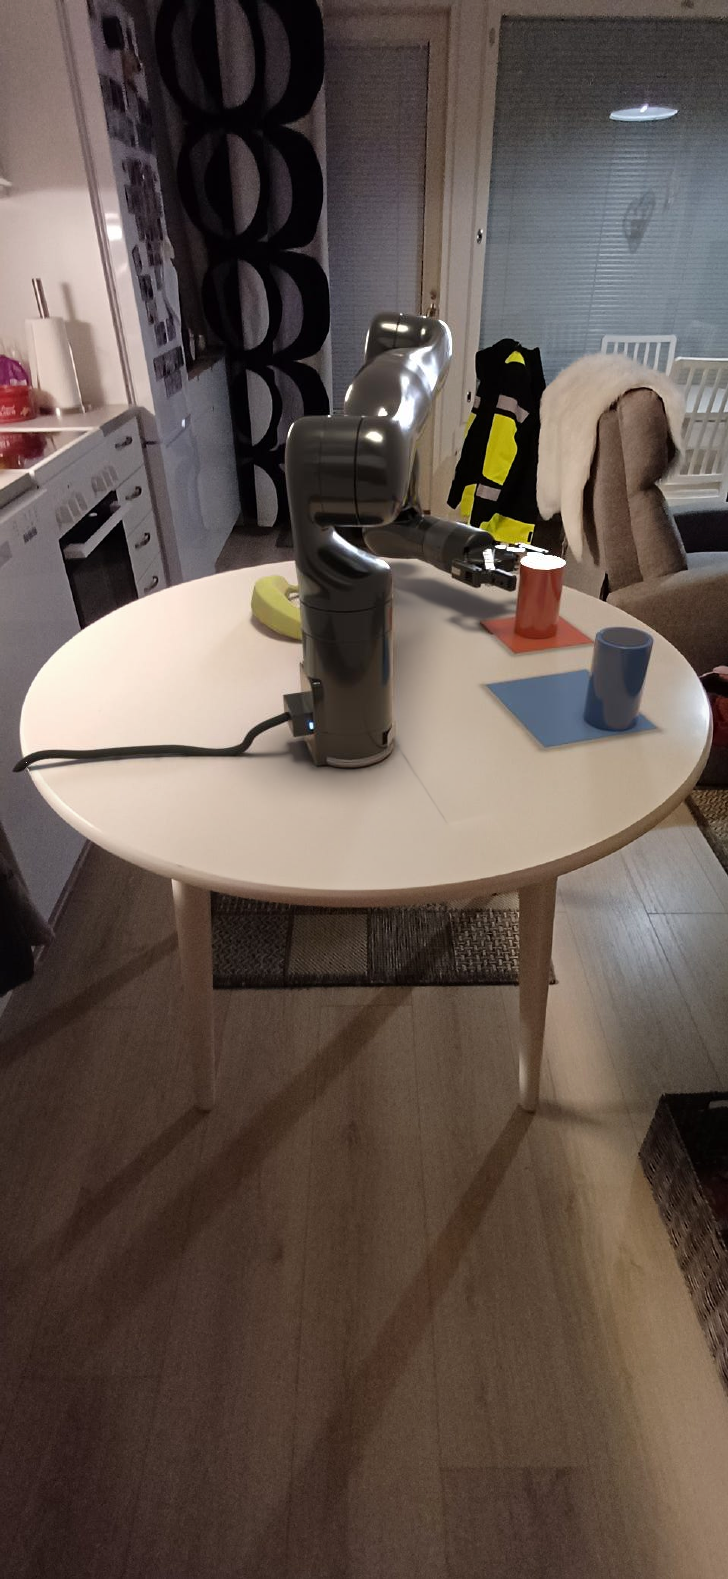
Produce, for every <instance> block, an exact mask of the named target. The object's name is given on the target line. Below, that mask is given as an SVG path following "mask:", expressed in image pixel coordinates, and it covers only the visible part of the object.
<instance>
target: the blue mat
mask: <svg viewBox="0 0 728 1579" xmlns="http://www.w3.org/2000/svg"><path fill="white" fill-rule="evenodd" d="M589 675H590V671H588V670H587V669H582V670H574V671H568V672H561V673H554V674H547V675H541V676H534V677H528V678H522V679H514V680H508V681H501V682H494V683H488V684H485V686H486V687H487V688H488V689H489V690H490V692H492V693H493V694H494V695H495V696H496V697H497V699H499V701H500V702H501V703H502V704H503V705H504V706H505V707H506V708H507V709H508V711H510V713H512V714H513V716H514V717H516V719H517V720H518V721H519V722H520V723H521V724H522V725H523V726H524V727H525V728H526V730H528V732H530V734H531V735H532V736H533V737H534V738H535V739H536V740H537V741H538V742H539V743H540V744H541V746H543V748H550V747H556V746H562V745H567V744H573V743H579V742H584V741H590V740H596V739H602V738H609V737H613V736H619V735H625V734H631V733H637V732H642V731H650V730H655V729H658V726H656V725H655V724H654V723H652V721H650V720H649V719H647V718H646V717H645V716H644V715H643V714H642V713H641V712H639V715H638V720H637V724H636V725H635V726H634V727H633V728H631V729H629V730H625V731H606V730H601V729H598V728H595V727H593V726H591V725H589V724H588V723H587V722H586V721H585V720H584V718H583V712H584V706H585V700H586V694H587V687H588V681H589Z"/></svg>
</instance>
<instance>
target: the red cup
mask: <svg viewBox="0 0 728 1579" xmlns="http://www.w3.org/2000/svg"><path fill="white" fill-rule="evenodd" d="M519 564H520V573H519V574H518V583H517V584H518V585H517V593H516V594H517V595H516V604H515V616H514V617H515V625H514V632H515V633H516V634H517V635H519V636H521V637H525V638H529V639H547V638H551V637H553V636H555V635H556V633H557V626H558V618H559V616H560V609H561V601H562V594H563V587H564V578H565V572H566V561H565V560H564V559H563V558H560V557H557V556H553V555H548V556H547V555H534V556H528V557H525V558H523V559H522V560H521V562H520V563H519Z"/></svg>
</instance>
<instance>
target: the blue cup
mask: <svg viewBox="0 0 728 1579" xmlns="http://www.w3.org/2000/svg"><path fill="white" fill-rule="evenodd" d="M654 642H655V641H654V638H653V636H652V635H651V634H650V633H648V632H646V631H644V630H642V629H639V628H634V627H628V626H610V627H604V628H601V629H599V630H598V631H597V632H596V633H595V638H594V643H593V651H592V657H591V664H590V670H589V672H590V675H589V681H588V687H587V694H586V700H585V706H584V712H583V718H584V720H585V721H586V722H587V723H588V724H589V725H591V726H593V727H595V728H598V729H601V730H606V731H625V730H629V729H631V728H633V727H634V726H635V725H636V724H637V720H638V715H639V713H640V709H641V704H642V699H643V696H644V695H643V694H644V690H645V685H646V681H647V676H648V670H649V665H650V660H651V655H652V651H653V645H654Z"/></svg>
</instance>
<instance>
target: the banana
mask: <svg viewBox="0 0 728 1579" xmlns="http://www.w3.org/2000/svg"><path fill="white" fill-rule="evenodd" d="M291 594H299V589H298V585H293V584H290V583H289V581H288V580H287V579H286V578H285V577H284V576H283V575H279V574H272V575H268V576H263V577H260V578H259V579H257V580H256V581H255V583H254V586H253V590H252V596H251V600H250V608H251V611H252V613H253V615H254V616H255V617H256V618H257V619H258V620H259V621H260V622H261V623H262V624H263V625H265V626H266V627H268V628H270V629H271V630H273V631H274V632H276V633H277V634H280V635H282V636H285V637H287V638H291V639H294V640H298V641H299V640H300V641H302V632H301V617H300V607H297V606H296V605H294V603H292V602H291V601H290V600H289V598H290V595H291Z"/></svg>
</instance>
